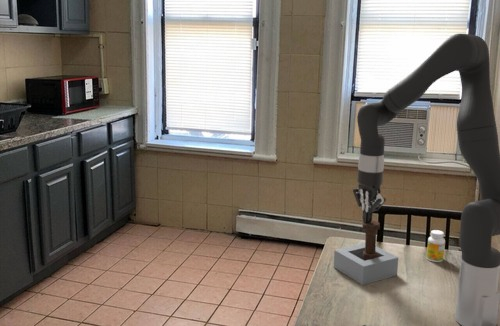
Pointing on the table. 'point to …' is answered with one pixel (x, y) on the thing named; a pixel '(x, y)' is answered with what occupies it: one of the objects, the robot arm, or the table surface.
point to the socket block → (365, 264)
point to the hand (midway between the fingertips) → (366, 222)
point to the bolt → (370, 240)
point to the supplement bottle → (436, 246)
